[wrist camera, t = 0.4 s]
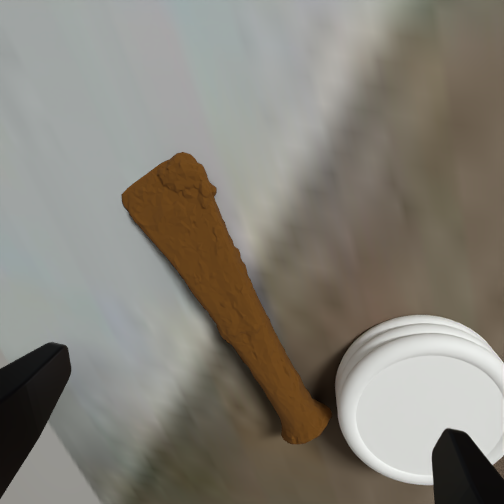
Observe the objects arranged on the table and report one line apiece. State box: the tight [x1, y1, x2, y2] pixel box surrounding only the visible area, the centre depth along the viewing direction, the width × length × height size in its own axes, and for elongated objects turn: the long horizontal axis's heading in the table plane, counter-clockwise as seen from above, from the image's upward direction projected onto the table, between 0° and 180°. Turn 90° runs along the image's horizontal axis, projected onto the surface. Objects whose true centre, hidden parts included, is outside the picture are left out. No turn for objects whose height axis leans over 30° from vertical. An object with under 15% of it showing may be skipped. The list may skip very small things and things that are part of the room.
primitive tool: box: [122, 152, 332, 444], centre depth 24 cm, size 19×6×4 cm, turn 34°
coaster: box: [335, 315, 504, 485], centre depth 24 cm, size 10×10×4 cm
